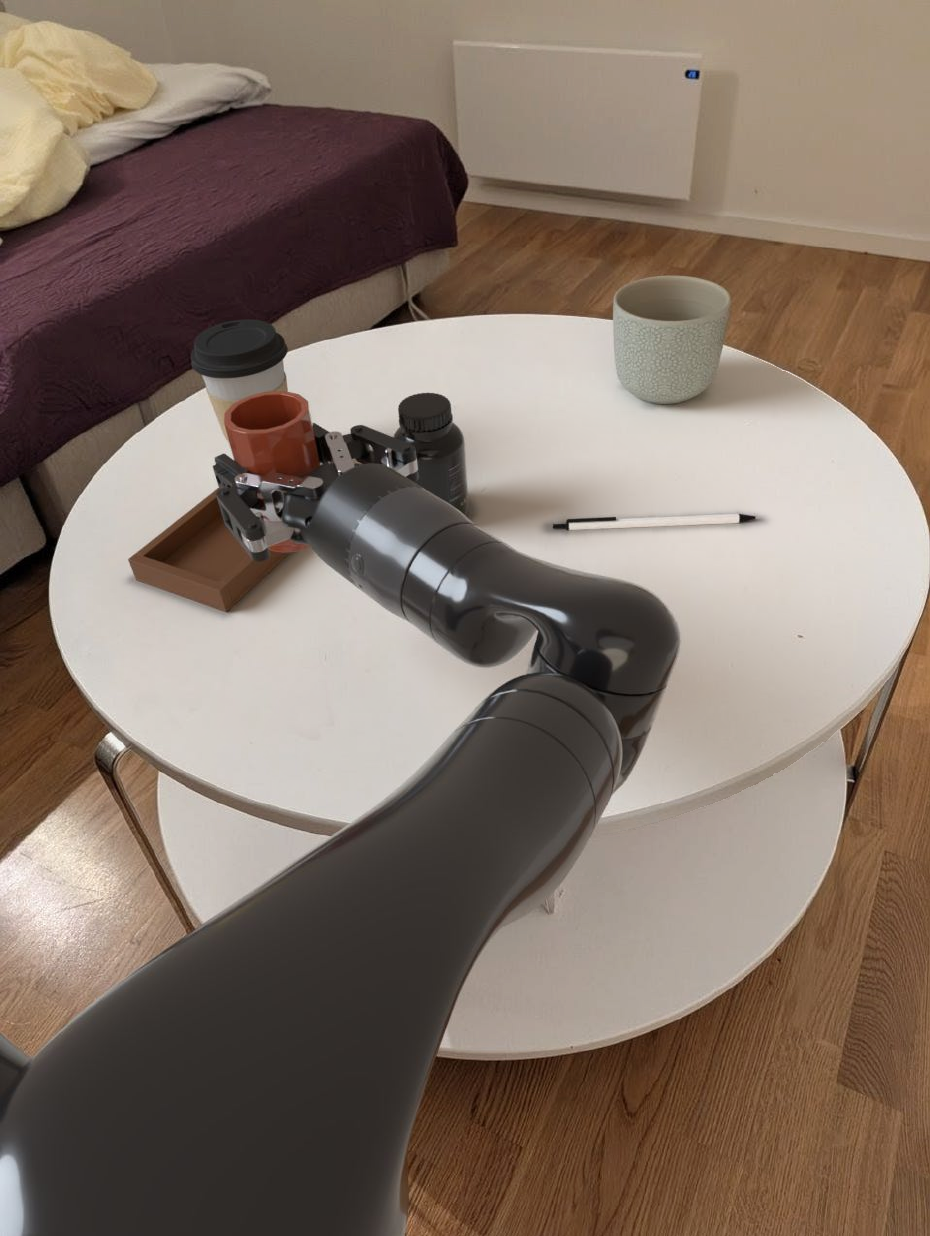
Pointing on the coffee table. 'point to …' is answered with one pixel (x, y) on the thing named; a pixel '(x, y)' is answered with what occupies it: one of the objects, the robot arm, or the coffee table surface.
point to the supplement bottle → (435, 446)
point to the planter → (669, 336)
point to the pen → (651, 521)
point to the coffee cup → (239, 362)
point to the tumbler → (273, 439)
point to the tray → (201, 559)
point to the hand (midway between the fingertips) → (260, 448)
